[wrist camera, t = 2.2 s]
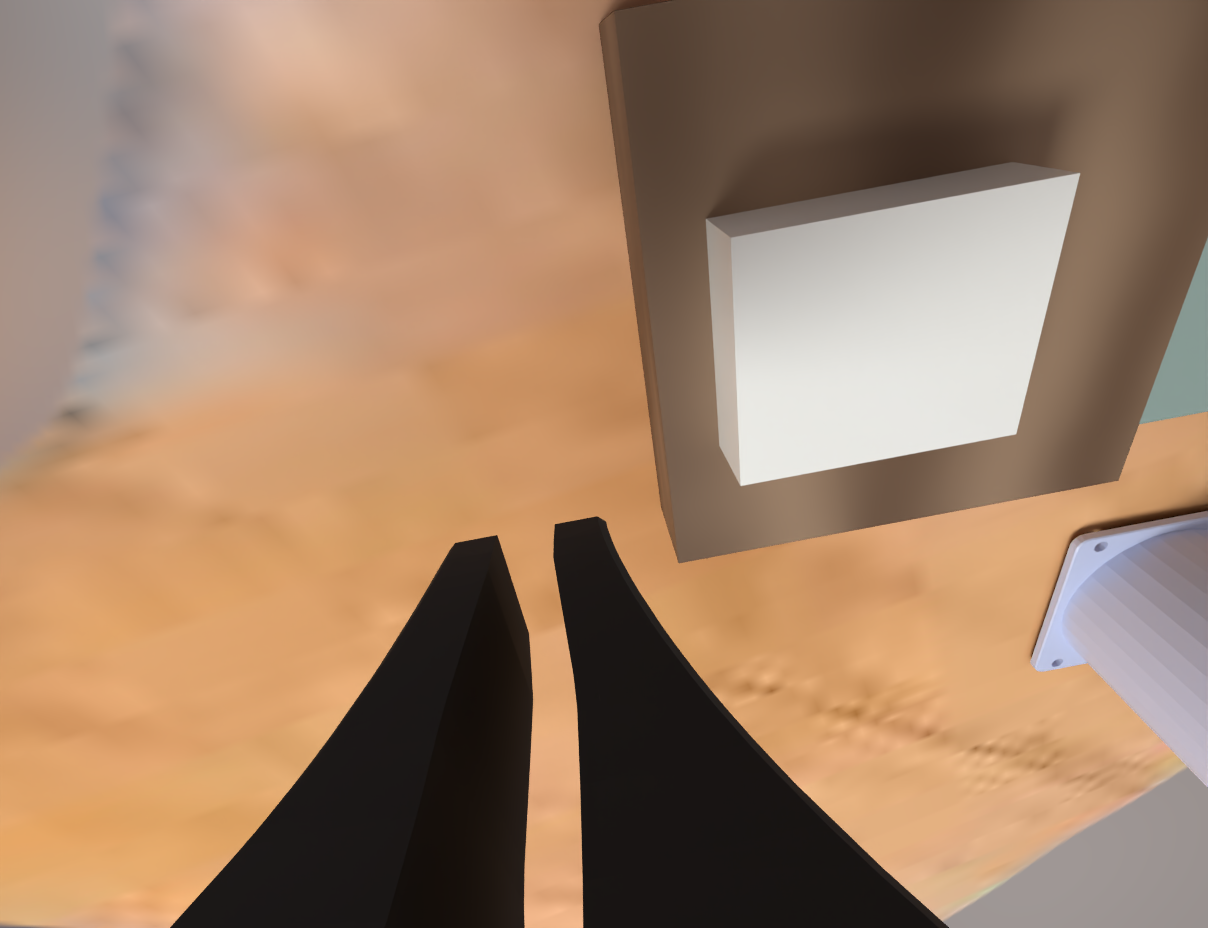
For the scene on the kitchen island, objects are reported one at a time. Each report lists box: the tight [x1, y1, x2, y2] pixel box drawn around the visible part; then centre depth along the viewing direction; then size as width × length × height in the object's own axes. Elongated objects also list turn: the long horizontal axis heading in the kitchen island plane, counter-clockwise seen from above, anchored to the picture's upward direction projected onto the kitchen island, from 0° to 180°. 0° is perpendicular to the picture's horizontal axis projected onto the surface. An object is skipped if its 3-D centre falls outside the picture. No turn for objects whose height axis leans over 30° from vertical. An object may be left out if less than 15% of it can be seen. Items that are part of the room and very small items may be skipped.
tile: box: [706, 162, 1080, 486], centre depth 14 cm, size 7×6×2 cm
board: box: [599, 0, 1208, 563], centre depth 17 cm, size 14×14×3 cm
